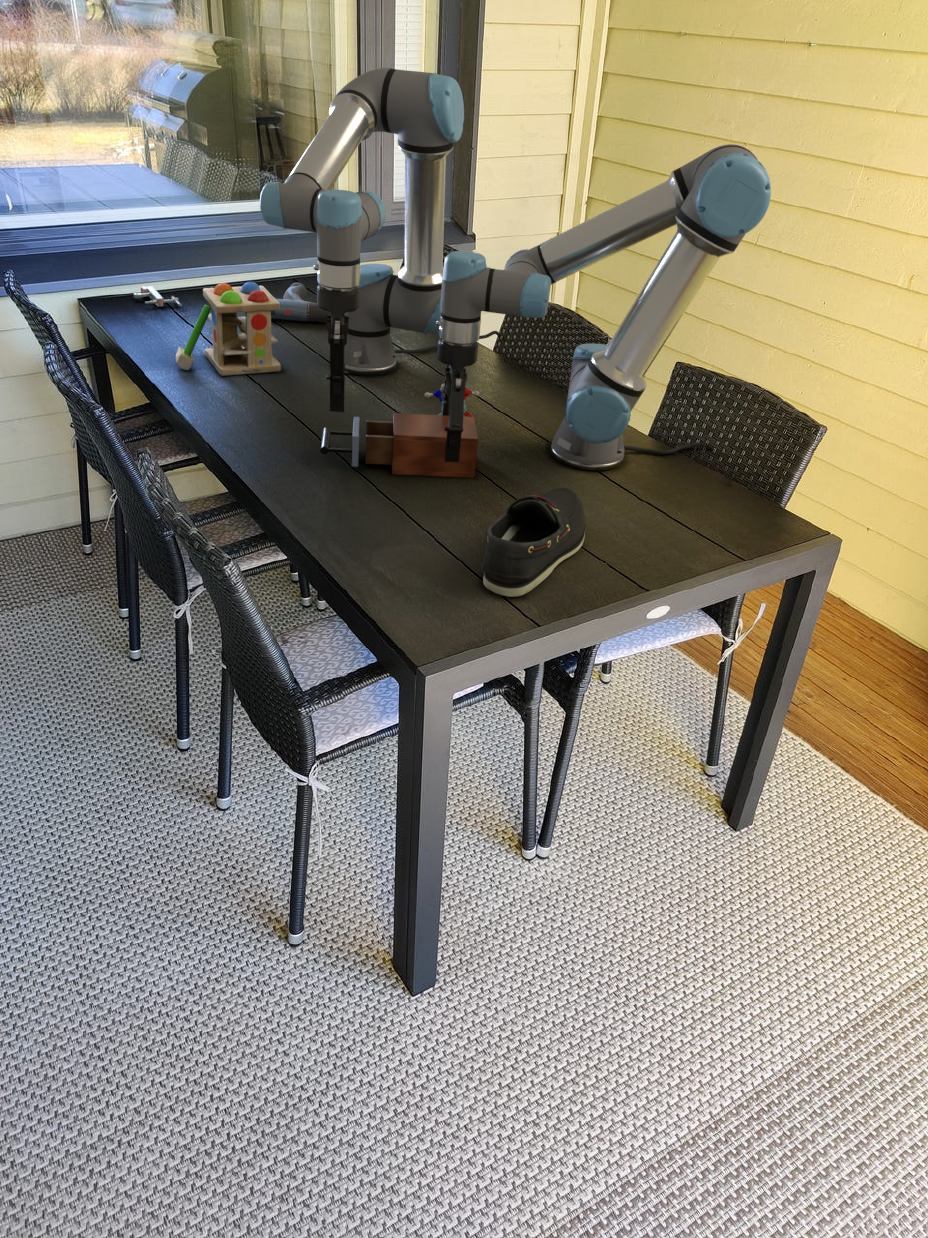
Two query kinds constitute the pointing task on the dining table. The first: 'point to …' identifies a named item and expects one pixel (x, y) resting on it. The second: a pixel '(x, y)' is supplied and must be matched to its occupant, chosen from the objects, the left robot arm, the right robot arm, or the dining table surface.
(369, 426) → the drawer
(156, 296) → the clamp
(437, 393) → the molecular model
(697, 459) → the dining table surface
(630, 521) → the dining table surface
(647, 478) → the dining table surface
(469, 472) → the cabinet
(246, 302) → the pounding bench toy
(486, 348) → the dining table surface
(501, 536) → the boat shoe
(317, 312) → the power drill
